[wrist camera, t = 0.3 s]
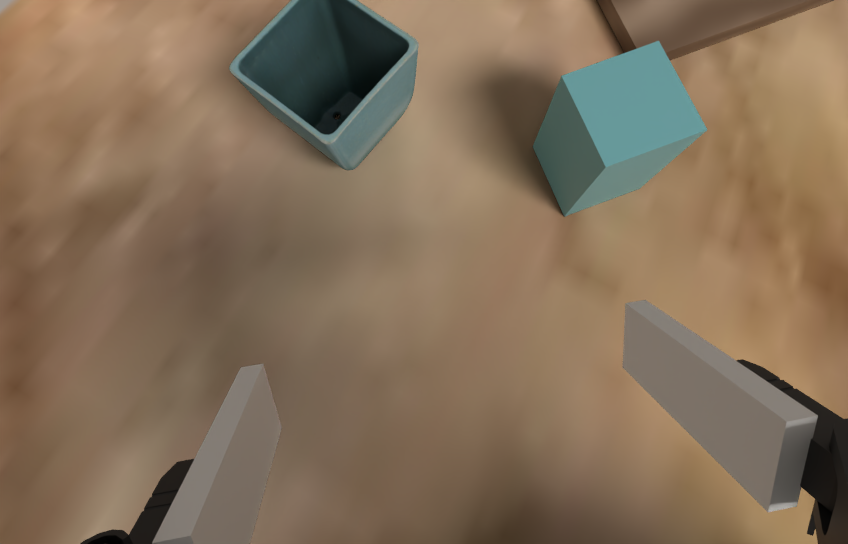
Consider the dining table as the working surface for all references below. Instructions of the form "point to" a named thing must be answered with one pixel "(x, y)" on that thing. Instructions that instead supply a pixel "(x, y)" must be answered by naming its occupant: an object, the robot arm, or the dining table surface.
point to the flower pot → (331, 74)
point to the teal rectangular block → (614, 127)
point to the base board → (693, 20)
